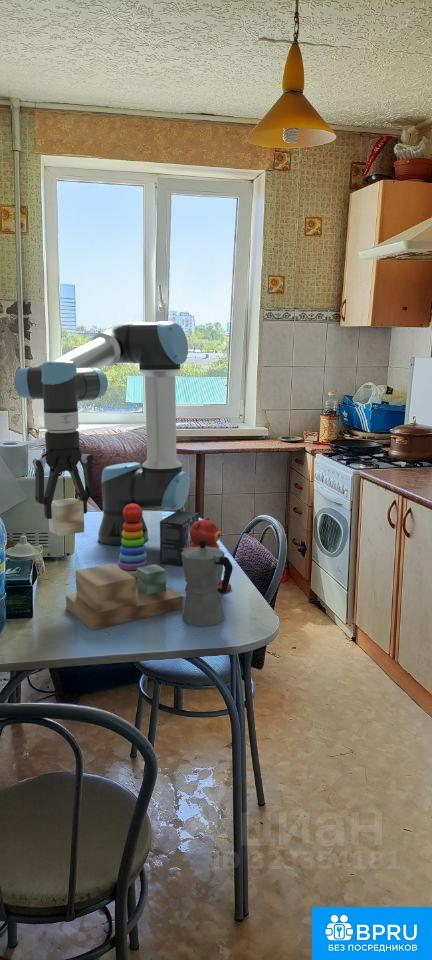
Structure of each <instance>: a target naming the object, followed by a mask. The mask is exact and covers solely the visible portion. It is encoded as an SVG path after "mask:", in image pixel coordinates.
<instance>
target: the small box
mask: <svg viewBox="0 0 432 960" xmlns="http://www.w3.org/2000/svg"><path fill="white" fill-rule="evenodd" d="M199 514H200V513H199V512H193V511H181V510H176V511H175V512H173V513H171V514H170V515H168V516H167V517H166V516H165V518H163V519H161V520H160V521H159V563H160V564H165V565H173V566H181V567H183V563H182V557H181V552H183V550H182V548H185V547H189V546H190V544H191V543H192V540H191V537H190V528H191V526H192V524H193V523H194V522H196V521H199V520H200V519H199V518H200V515H199Z"/></svg>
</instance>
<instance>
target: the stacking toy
mask: <svg viewBox="0 0 432 960" xmlns="http://www.w3.org/2000/svg"><path fill="white" fill-rule="evenodd" d="M142 515H144V514H143V508H142V509H141V507H140V506H139V505H137V504H128V505H127V506H125V508H124V509H123V517H124V519H125V520H126V521H127V522H125V523H124V524H123V529H124V530H123V531H122V536H123V538H122V540H121V543H122V545H120V548H119V549H120V550H119V551H120V553H119V555H118V557H119V560H118V562H117V565H118V566H117V567H119V568H120V569H122V570H123V571H125V572H127V573H128V574H130V575H131V576H133V577H135V579H137V568H139V567H144V566H148V561H147V559H146V558H147V556H148V555H147V553H146V546H145V542H146V541H145V540H144V538H143V537H142V536H143V531H142V530H141V529H142V527H143V525H142V523H141V522H139V520H140V519H141V518H142Z"/></svg>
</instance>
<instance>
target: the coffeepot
mask: <svg viewBox="0 0 432 960" xmlns="http://www.w3.org/2000/svg"><path fill="white" fill-rule="evenodd" d="M199 544H200V547H185V548H182V550H183V552H181V557H182V563H183V565H182V569H183V574H184V579H185V582H186V585H187V584H188V590H187V591H185V597H184V601H183V608H182V619H183V621H184V622H185V623H186V624H188V625H190V626H194V627H211V626H216V625H219V624H220V623H221V622H223V620H224V618H225V612H224V611H225V610H224V607H223V606H224V605H223V601H222V594H223V595H225V594H227V592H228V591H227V587H228V584H229V583H230V579H231V577H232V573H233V570H234V567H233V565H232V562H231V560H230V558H228V557H227V556H225V552H224V551H223V550H222V549H219V548H220V547H219V548H213V547H205V546H206V540H205V539H200V540H199ZM222 567H223V568H224V570H223V572H224V573H223V572H222ZM221 574H222V575H223V578H222V577H221ZM221 580H223V581H222V589H220V588H218V583H219V582H220V581H221ZM226 591H227V592H226Z"/></svg>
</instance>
